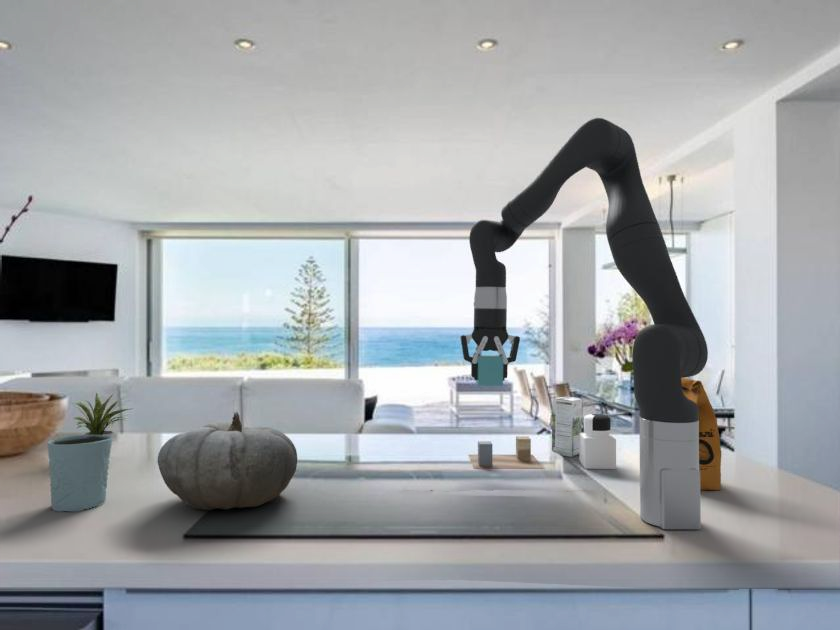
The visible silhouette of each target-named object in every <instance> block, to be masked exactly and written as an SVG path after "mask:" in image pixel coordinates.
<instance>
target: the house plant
mask: <svg viewBox="0 0 840 630" xmlns="http://www.w3.org/2000/svg"><path fill="white" fill-rule="evenodd" d="M113 395H114V393H113V394H111V395H110V396H109V397H108V398H107V399H106V400H105V401H104V403H102V402H101V398H100V397H98V393H97V392H95V397H94V408H93V405H92V404H91V402H90V401H88V400H86V399H84V402H87V403H88V405H89V406H90V408H91V410H90V409H89V408H88V407H87V405H86V404H84V403H82V402H81V401H79V402H76V403H75V402H74V403H73V402H72V403H70V404H72V405H73V406H74V407H76V408H77V409H78V410H79V411H80V413H82V414H83V415H84V417H85V418H83V417H81V416H76V417H73V418H72V420H76V421H78V422H77V424H76V426H77V428H81V427H82V425H83V424H85V425H84V427H85V428H87V430H89V431H87V432H84V433H81V435H108V436H111V437H112V441H113V439H114V433H115V431H113V430H107V429H108V427H109V426H111V425H112V426H114V423H115V422H117V421H125V422H126V421H128V420H127V419H126V418H125V417H126V416H128V414H124V415H121V416H116V417H114V416H115V415H117V414H121V413H123V412H125V411H129V410H133V409H134V408H132V407H131V408H123V409H119V410H115V409H116V408H117V407H119V406H120V404H121V406H125V405H126V404H122V403H125V402H127V400H125V401H122V400H123V399H124V397H123V398H120V399H117V400H116V401H115V402H113V403H112V404H111V405H110V406H109V407H108V408H107V409H106V407H107V405H108V403H109V402H110V400H111V398H112V397H113ZM120 401H121V402H120ZM130 401H131V400H129V402H130ZM118 402H119V403H118ZM76 405H78V406H79V407H80V408H81V409H82V410H83V411H82V410H81V409H80V408H79V407H77V406H76ZM105 410H106V411H105ZM114 410H115V411H114ZM91 411H92V412H91ZM124 416H125V417H124ZM112 445H113V442H112V443H111V447H112ZM110 452H111V450H110Z"/></svg>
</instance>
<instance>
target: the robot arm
mask: <svg viewBox="0 0 840 630" xmlns="http://www.w3.org/2000/svg"><path fill="white" fill-rule="evenodd" d="M633 141H634V140H633V138H632V136H631V135H630V134H629V133H628V132H627V131H626V130H625V129H624V128H623V127H620V126H619V125H617V124H615V123H613V122H611V121H610V120H608V119H605V118H601V117H593V118H590V119H589V120H586V121H585V122H583V124H581V125H580V126H578V128H577V129H576V130H575V131H574V132H573V133H572V134H571V135H570V137H569V138H568V139H567V140H566V141H565V143H564V144H563V146H562V145H561V148H559V150H557V152H556V153H555V155H554V156H553V157H551V159H550V160H549V162H548V163H547V164H546V165H545V167H544V168H543V169H542V170H541V171H540V172H539V173H538V174H537V176H535V178H534V179H532V180H531V182H529V183H528V184H527V185H526V186H525V187H524V188H523V189H521V190H520V192H518V193H517V194H516V195H515V196H514V197H512V198H511V199H510V200H509V201H507V202H506V203H505V205H504V206H503V207H501V208H502V209H501V214H500V215H501V218H502V219H501V220H499V221H494V220H490V219H479V220H477V221H475V222H474V223H473V225H472V227H471V229H470V232H469V238H468V239H469V247H470V251H471V255H472V261H473V265H474V269H475V289H474V290H475V291H474V295H473V296H474V297H473V301H474V302H473V330H472V332H471V334H461V335H460V337H459V339H460V343H461V344H460V345H461V350H462V355H463V360H464V361H466V362H469V363H470V364H471V365H470V369H471V370H470V371H471V372H470V373H471V374H470V376H471V377H472V378H473V381H476V380H478V364H477V361H478V356H480V355H482V353H483V352H488V351H492V352H497V355H499V356H503V382H504V381H505V379H508V367H509V366H508V365H510V364H511V363H514V362H516V360H517V355H518V351H519V346H520V340H521V338H520V336H518V335H510V334H509V333H508V330H507V316H508V315H507V312H508V310H507V308H508V305H507V304H508V300H507V299H508V297H507V269H506V265H505V264H504V263H503V262H501V261H499V260H498V259H497V255H496V253H503V252H505V251H507V250H508V249H511V247H513V246H514V245H515V244H516V242H517V241H518V240H519V238H520V237H521V236H522V234H523V233H524V231H525V230H526V229H527V228H528V227H530V226H531V225H532V224H533V223H534V222H536V221H537V220H538V219H539V218H541V217H542V216H544V214H546V212H547V211H549V209H550V208H551V207H552V205H553V203H554V202H555V200H556V198H557V196H558V194H559V192H560V190H561V188H562V187H563V186H564V185H565V183H566V182H567V181H568V180H569V179H570V178H571V177H573V176H574V175H575V174H576V173H578V172H580V171H581V170H583V169H585V168H587V169H589V170H592V171H595V172H596V173H597V174H598V176H599V178H600V180H601V183H602V186H603V187H604V190H605V193H606V196H607V200H608V210H607V217H606V224H605V233H606V239H607V243H608V245H609V249H610V253H611V256H612V258H613V261H614V264H615V266H616V268H617V270H618V271H619V273H620V274H621V276H622V277H623V278H624V280H625V281H626V282H627V283H628V285H630V287H631V288H632V289H633V290H634V292H635V293H636V294H637V295H638V296H639V298H641V300H642V301H643V302H644V304H645V306H646V307H647V309H648V311H649V314H650V317H651V319H652V321H653V322H652V323H653V324H650V325H647V326H646V325H645V327H643V328H641V329H640V330H639V331H638V333H637V334H636V336H635V338H634V341H633V343H632V352H631V353H632V355H631V356H632V357H631V358H632V376H633V379H632V380H633V393H634V398H635V401H636V403H637V407H638V410H639V411H638V412H639V504H640V506H639V507H640V509H639V510H640V511H639V514H640V519H641V520H642V521H644V522H645V523H647V524H651V525H653V526H657V527H659V528H661V529H662V530H701V529H702V528H701V527H702V524H701V522H702V519H701V509H702V508H701V507H702V506H701V490H700V471H699V409H698V405H697V404H696V403H695V402H694V401H692V400H690V399H688V398H687V397H686V396H685V395H684V393H683V390H682V381H681V378H691V377H694V376H697V375H699V374H700V373H701V372H702V371H703V370H704V369H705V367H706V365H707V362H708V356H709V349H708V344H707V341H706V337H705V335H704V333H703V330H702V329H701V327H700V324H699V323H698V321H697V318H696V317H695V314H694V313H693V310H692V308H691V306H690V305H689V302H688V300H687V298H686V296H685V293H684V292H683V288H682V285H681V284H680V280H679V278H678V275H677V272H676V269H675V268H674V264H673V262H672V259H671V257H670V253H669V250H668V248H667V245H666V241H665V238H664V236H663V232H662V229H661V227H660V224H659V222H658V219H657V217H656V214H655V212H654V209H653V206H652V204H651V201H650V198H649V196H648V193H647V190H646V187H645V186H644V182H643V178H642V176H641V170H640V166H639V162H638V156H637V153H636V148H635V143H634V142H633ZM471 340H473V342H475V344H476V348H475V351H474V352H473V355H472V356H470V354H469V346H468V344H470V343H471ZM508 340H509V344H510V345H511V347H510V352H509V356H507V355H506V352H505V350H504V347H503V346H504V345H505V343H506V342H507V341H508Z"/></svg>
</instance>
